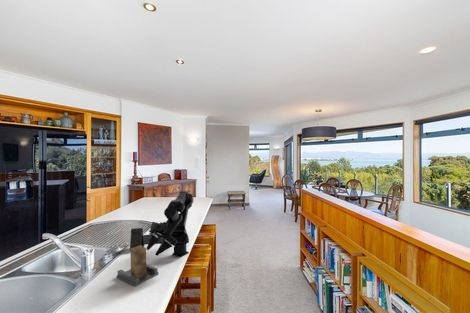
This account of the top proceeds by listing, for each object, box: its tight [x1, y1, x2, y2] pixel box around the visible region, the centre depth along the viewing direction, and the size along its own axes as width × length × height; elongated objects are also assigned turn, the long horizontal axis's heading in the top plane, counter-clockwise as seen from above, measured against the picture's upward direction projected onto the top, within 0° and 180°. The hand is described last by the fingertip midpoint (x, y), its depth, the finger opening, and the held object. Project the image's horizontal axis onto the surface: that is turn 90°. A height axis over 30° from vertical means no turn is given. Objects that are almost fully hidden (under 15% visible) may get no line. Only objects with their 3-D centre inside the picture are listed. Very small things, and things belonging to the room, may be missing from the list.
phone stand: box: [129, 227, 146, 250], centre depth 139 cm, size 9×6×12 cm, turn 6°
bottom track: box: [116, 263, 159, 287], centre depth 107 cm, size 12×14×3 cm
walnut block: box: [129, 245, 148, 278], centre depth 106 cm, size 5×5×12 cm
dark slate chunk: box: [143, 234, 165, 245], centre depth 153 cm, size 15×22×5 cm
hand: (151, 252), depth 111 cm, fingers open, 9 cm apart
